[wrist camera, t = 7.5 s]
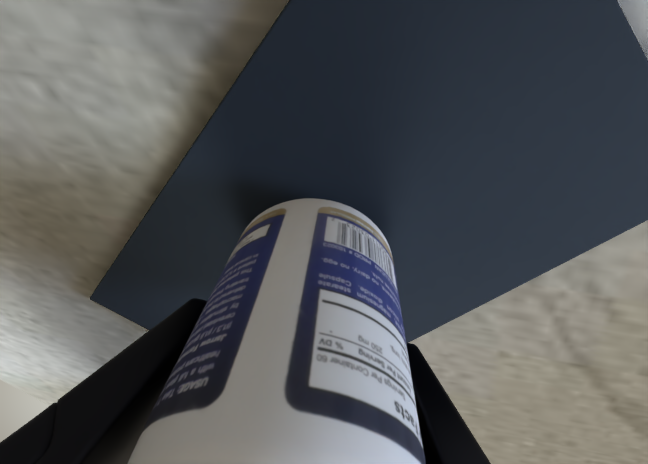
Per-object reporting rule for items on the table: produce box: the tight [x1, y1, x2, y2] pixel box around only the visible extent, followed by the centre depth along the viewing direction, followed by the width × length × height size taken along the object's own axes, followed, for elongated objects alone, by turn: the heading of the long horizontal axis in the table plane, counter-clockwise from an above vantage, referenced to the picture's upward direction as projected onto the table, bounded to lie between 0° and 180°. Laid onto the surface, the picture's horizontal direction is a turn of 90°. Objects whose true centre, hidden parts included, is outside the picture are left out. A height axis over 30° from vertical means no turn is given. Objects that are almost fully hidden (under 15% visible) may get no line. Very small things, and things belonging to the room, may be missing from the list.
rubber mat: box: [90, 0, 648, 343], centre depth 12 cm, size 20×12×1 cm, turn 138°
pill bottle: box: [128, 198, 426, 464], centre depth 7 cm, size 5×5×10 cm
